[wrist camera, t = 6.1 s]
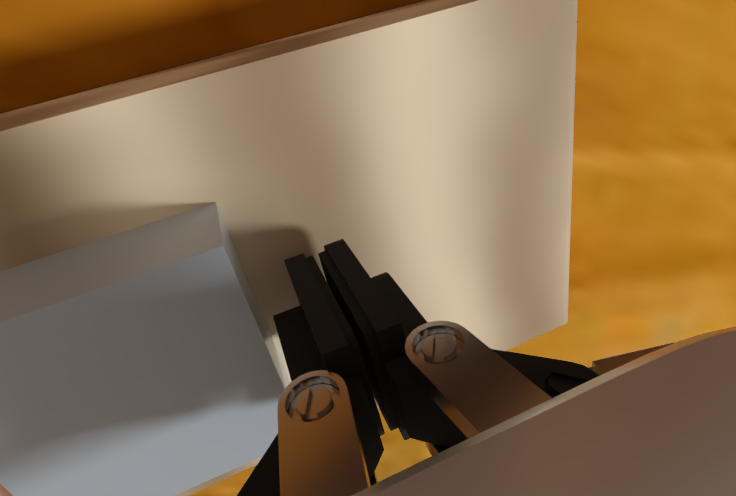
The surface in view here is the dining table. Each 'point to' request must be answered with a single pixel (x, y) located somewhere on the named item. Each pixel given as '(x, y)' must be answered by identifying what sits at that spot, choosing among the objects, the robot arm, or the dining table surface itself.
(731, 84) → the dining table surface
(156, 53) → the dining table surface
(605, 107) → the dining table surface
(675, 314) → the dining table surface
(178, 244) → the tile slate
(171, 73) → the birch plate
